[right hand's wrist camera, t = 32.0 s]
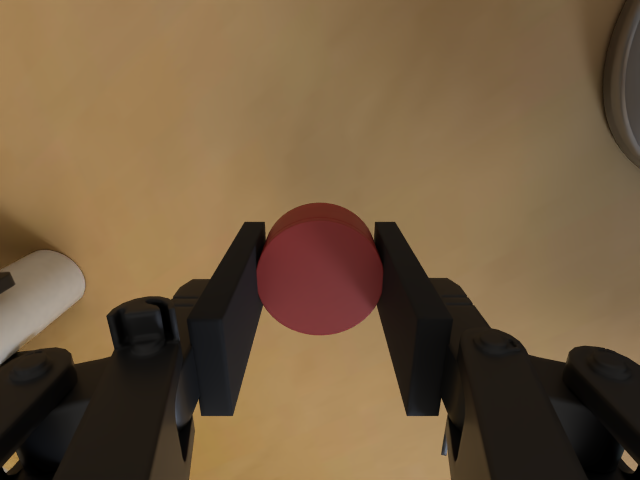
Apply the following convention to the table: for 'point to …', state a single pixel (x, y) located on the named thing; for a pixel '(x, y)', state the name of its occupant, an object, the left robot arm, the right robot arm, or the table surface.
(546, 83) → the table surface
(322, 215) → the cap
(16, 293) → the bottle
